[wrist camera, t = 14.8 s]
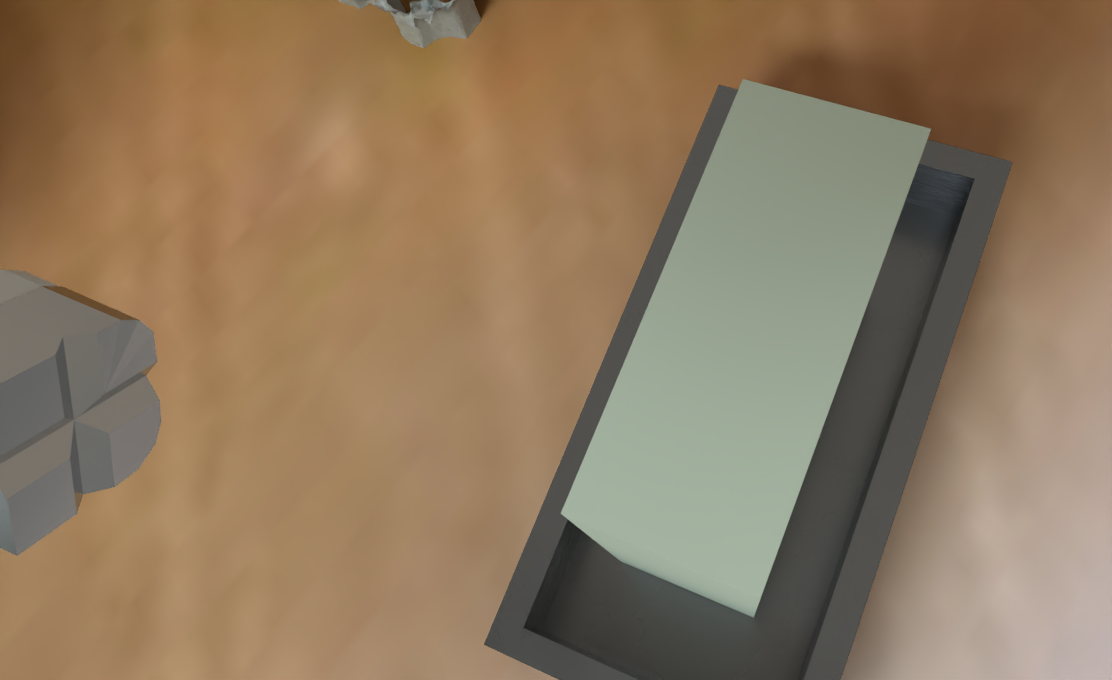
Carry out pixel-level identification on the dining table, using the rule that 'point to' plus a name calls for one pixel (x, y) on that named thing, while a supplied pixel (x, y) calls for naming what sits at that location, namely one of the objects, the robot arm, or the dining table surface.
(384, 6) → the egg carton
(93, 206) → the dining table surface
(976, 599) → the dining table surface
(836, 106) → the sage green slab
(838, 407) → the grey rectangular tray
